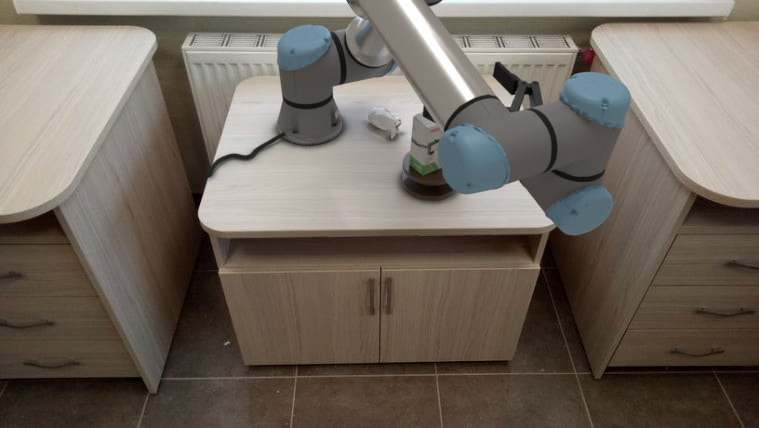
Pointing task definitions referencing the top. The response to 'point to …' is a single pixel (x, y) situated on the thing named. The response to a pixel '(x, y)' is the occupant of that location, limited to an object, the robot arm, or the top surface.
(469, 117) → the robot arm
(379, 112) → the crumpled white bag
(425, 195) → the stand
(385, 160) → the top surface
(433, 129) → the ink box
